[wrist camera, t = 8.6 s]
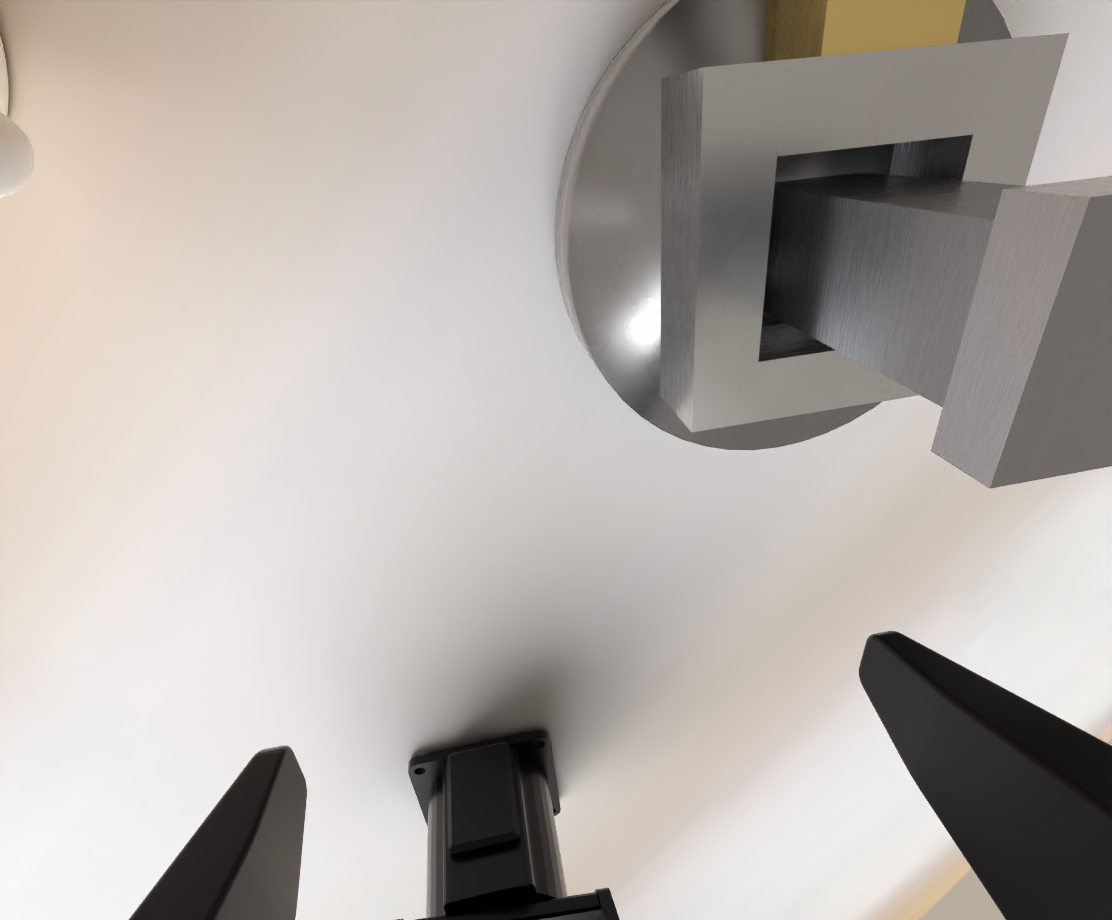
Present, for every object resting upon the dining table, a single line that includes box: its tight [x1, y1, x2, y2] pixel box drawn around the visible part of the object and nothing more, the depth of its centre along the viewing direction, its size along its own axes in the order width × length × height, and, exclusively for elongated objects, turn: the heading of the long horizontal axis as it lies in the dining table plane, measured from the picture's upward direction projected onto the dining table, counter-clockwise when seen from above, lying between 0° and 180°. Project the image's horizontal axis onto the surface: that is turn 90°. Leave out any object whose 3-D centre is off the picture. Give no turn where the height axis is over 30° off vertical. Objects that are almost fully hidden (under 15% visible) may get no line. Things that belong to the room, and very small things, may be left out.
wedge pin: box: [763, 172, 1112, 488], centre depth 12 cm, size 4×4×9 cm
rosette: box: [555, 0, 1069, 450], centre depth 14 cm, size 18×13×4 cm
